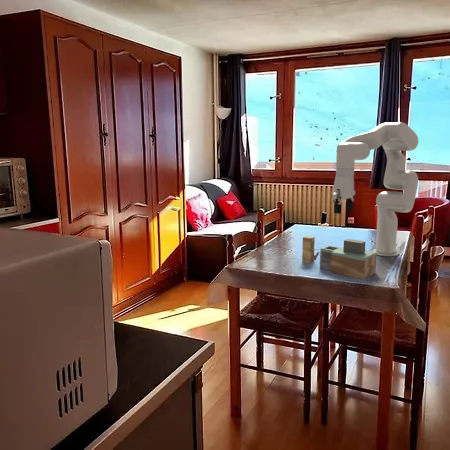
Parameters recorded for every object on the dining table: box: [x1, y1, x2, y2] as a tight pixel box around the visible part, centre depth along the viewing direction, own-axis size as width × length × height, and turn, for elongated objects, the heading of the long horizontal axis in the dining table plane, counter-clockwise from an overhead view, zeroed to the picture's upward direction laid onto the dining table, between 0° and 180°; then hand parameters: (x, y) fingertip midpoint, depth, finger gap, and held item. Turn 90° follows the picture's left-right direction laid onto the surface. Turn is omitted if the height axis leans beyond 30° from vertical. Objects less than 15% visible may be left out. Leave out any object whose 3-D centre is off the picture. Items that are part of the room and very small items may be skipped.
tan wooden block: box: [301, 235, 316, 264], centre depth 205 cm, size 4×4×12 cm
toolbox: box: [319, 249, 377, 280], centre depth 190 cm, size 12×22×8 cm, turn 47°
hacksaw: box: [314, 248, 320, 261], centre depth 221 cm, size 24×10×2 cm, turn 160°
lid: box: [320, 238, 378, 261], centre depth 189 cm, size 12×22×6 cm, turn 47°
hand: (343, 211), depth 188 cm, fingers open, 9 cm apart
